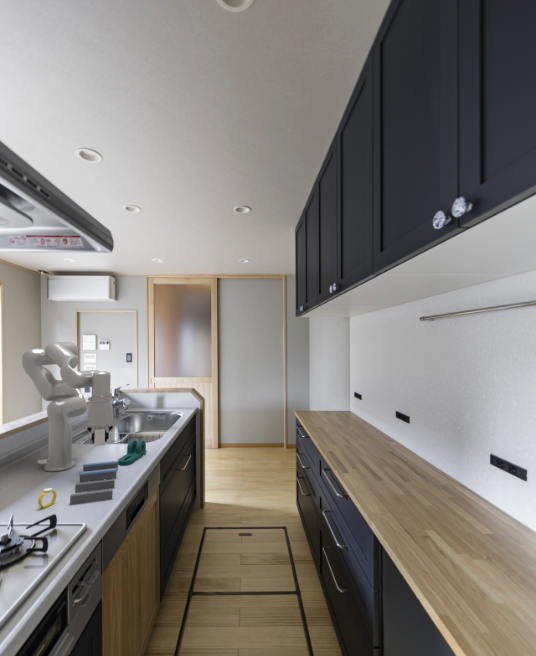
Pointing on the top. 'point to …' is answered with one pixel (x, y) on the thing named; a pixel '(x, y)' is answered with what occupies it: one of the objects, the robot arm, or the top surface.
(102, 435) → the off-white rectangular prism
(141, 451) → the bracket
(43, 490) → the watch
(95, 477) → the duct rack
